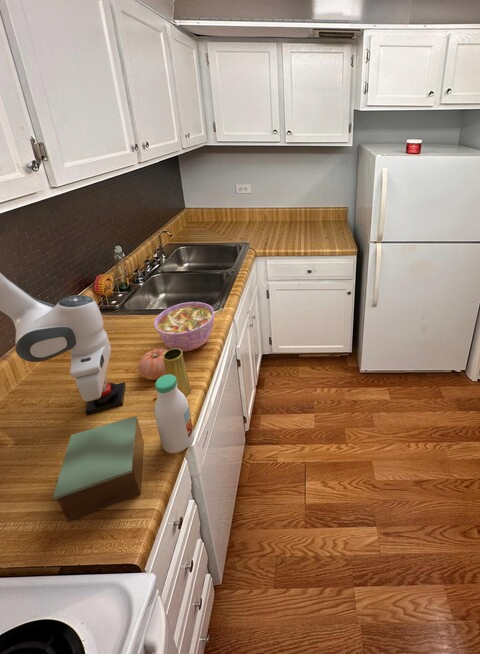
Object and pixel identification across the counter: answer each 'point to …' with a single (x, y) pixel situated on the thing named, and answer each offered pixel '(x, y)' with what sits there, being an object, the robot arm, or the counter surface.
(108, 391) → the button
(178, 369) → the vase
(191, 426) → the milk bottle
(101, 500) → the box
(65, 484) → the lid
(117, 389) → the black button base
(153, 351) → the orange pumpkin
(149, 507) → the counter surface
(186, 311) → the bowl of food
